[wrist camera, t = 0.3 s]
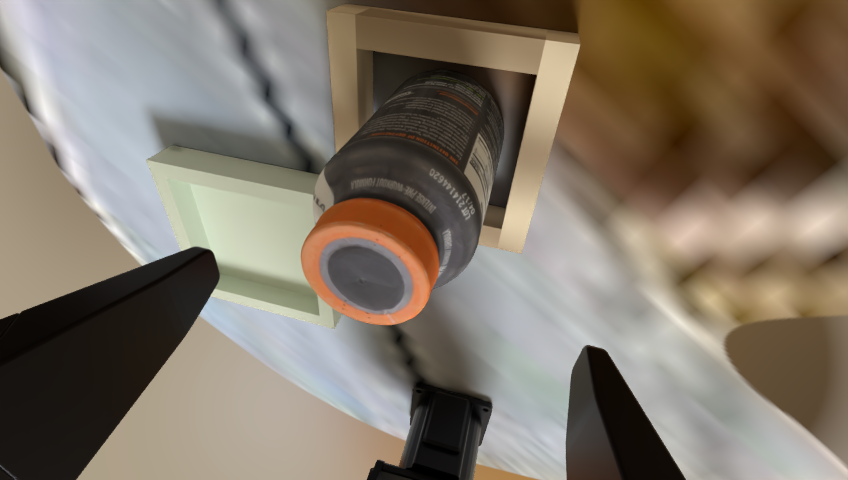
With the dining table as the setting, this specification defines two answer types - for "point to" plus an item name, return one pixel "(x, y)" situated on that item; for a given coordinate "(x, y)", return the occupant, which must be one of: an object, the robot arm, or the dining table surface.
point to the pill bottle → (405, 199)
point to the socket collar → (466, 44)
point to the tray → (245, 227)
